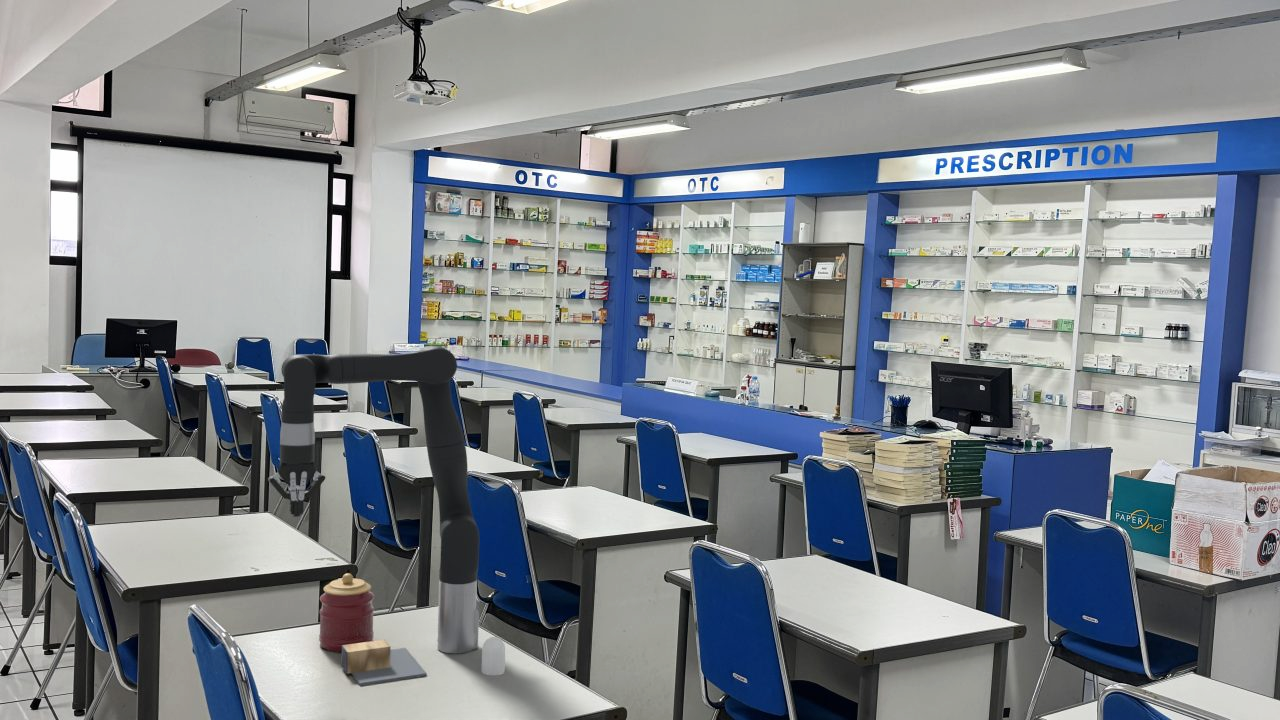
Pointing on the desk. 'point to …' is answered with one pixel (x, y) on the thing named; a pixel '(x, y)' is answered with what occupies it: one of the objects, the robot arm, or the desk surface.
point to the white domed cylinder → (493, 656)
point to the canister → (346, 613)
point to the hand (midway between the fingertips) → (296, 515)
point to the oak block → (365, 656)
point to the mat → (392, 669)
